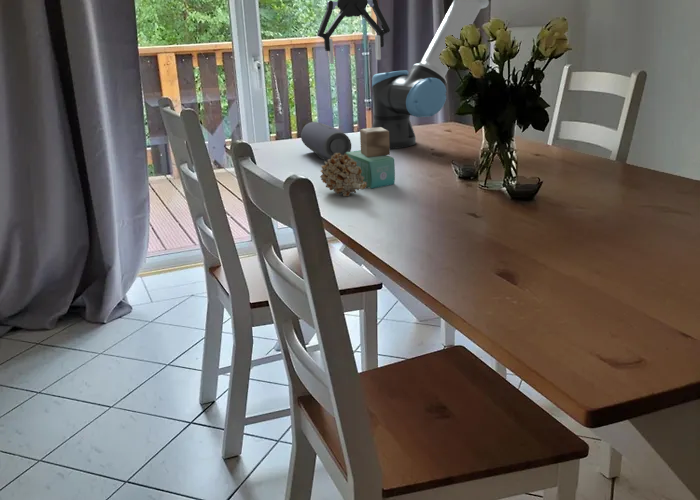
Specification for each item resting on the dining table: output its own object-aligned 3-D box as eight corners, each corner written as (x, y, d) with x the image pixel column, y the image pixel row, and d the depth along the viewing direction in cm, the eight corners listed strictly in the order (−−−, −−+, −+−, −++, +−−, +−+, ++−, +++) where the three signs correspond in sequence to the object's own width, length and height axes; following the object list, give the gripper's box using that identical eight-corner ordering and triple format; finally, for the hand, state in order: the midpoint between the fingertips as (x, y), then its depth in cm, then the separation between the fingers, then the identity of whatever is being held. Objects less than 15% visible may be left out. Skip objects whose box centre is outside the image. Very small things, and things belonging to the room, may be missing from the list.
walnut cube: (382, 150, 184) (382, 126, 182) (389, 154, 179) (389, 130, 177) (360, 152, 183) (359, 128, 181) (367, 157, 178) (366, 132, 176)
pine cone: (312, 190, 177) (309, 152, 174) (346, 184, 182) (344, 146, 178) (353, 210, 159) (350, 168, 156) (389, 203, 163) (388, 161, 160)
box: (371, 189, 176) (370, 160, 173) (345, 179, 187) (344, 152, 185) (395, 185, 179) (395, 156, 177) (369, 175, 190) (368, 148, 188)
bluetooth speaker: (354, 162, 206) (352, 128, 202) (324, 166, 202) (322, 132, 199) (328, 149, 226) (326, 118, 222) (300, 153, 222) (298, 121, 219)
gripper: (391, -22, 195) (393, 57, 202) (303, -17, 190) (309, 63, 197) (399, -23, 188) (401, 58, 196) (308, -18, 183) (314, 65, 191)
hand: (355, 61), depth 197 cm, fingers open, 13 cm apart
